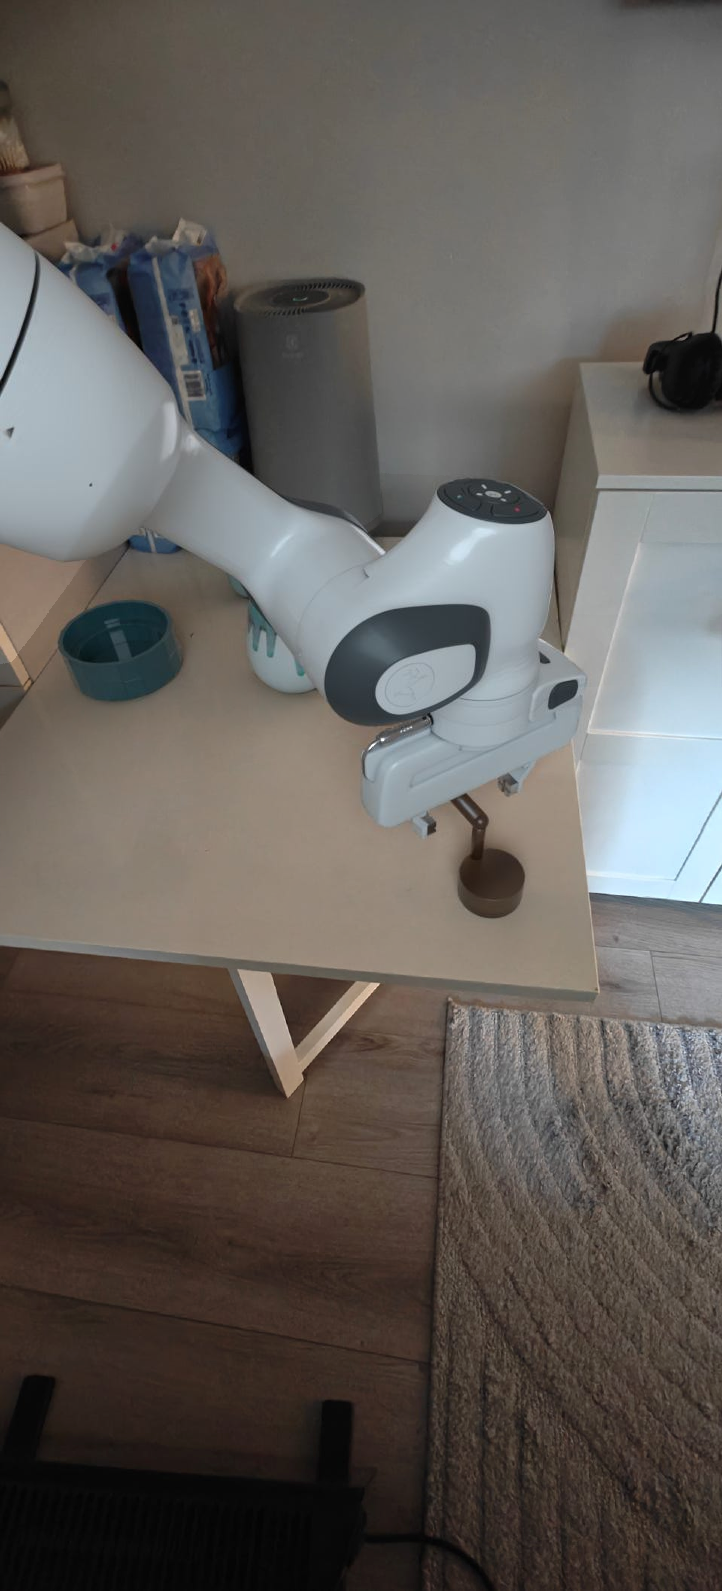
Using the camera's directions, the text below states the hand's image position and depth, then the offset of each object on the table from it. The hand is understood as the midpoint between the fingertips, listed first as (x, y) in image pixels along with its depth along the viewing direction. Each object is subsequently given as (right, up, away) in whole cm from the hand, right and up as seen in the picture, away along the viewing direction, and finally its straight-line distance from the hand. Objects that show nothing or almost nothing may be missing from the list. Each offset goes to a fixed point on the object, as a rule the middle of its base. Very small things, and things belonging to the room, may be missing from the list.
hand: (467, 810), depth 67 cm
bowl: (-40, +18, +30) cm, 53 cm away
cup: (-25, +32, +41) cm, 58 cm away
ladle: (-1, -4, +7) cm, 8 cm away
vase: (-18, +17, +27) cm, 36 cm away
